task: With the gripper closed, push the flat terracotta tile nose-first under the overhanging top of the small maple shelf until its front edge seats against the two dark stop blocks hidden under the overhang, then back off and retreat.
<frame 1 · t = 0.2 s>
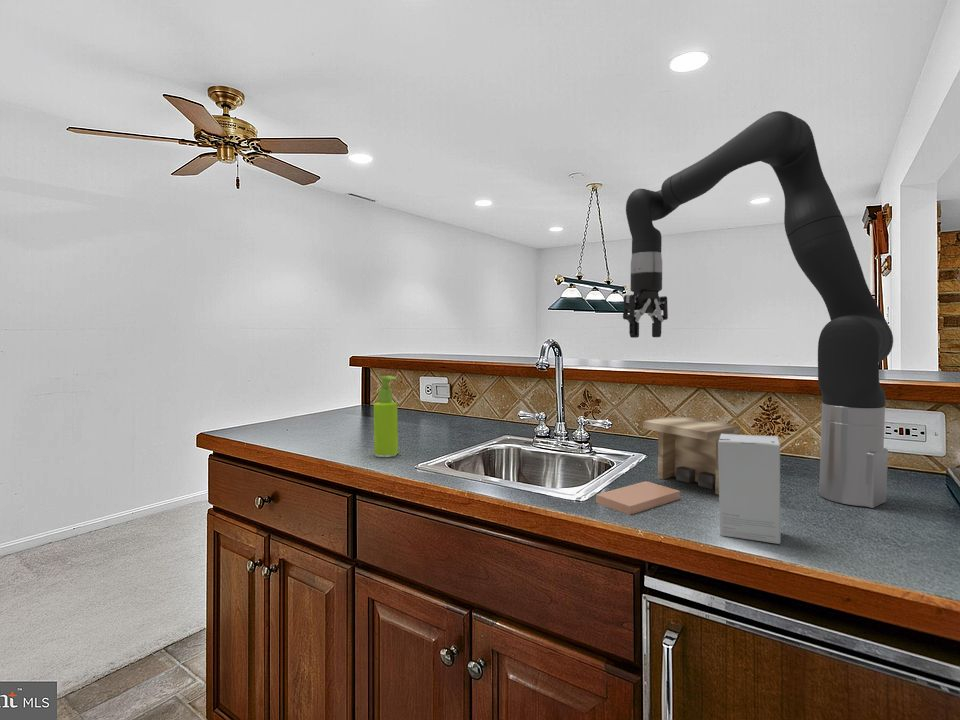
hand: (645, 337, 128), 29 cm above the worktop, tool pointing down, fingers open, 8 cm apart
shelf: (687, 486, 102), on the worktop
soap dispenser: (387, 456, 128), on the worktop
tile: (638, 503, 93), on the worktop
skincare box: (747, 535, 78), on the worktop
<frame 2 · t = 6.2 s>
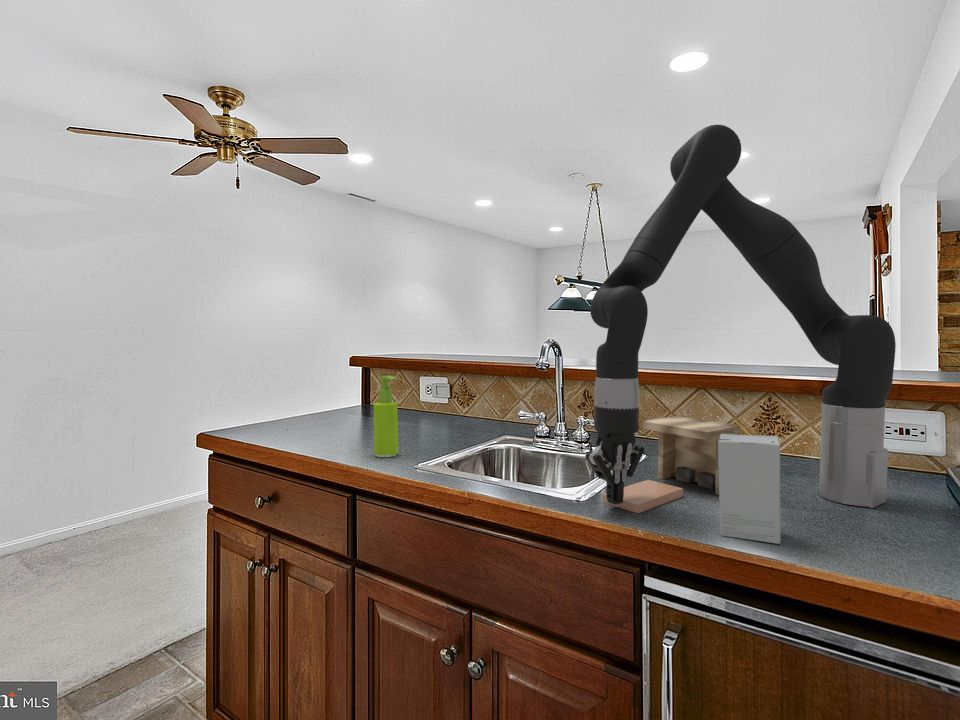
hand: (615, 502, 89), 1 cm above the worktop, tool pointing down, fingers closed
tile: (643, 501, 94), on the worktop, touching gripper
everything else where it was.
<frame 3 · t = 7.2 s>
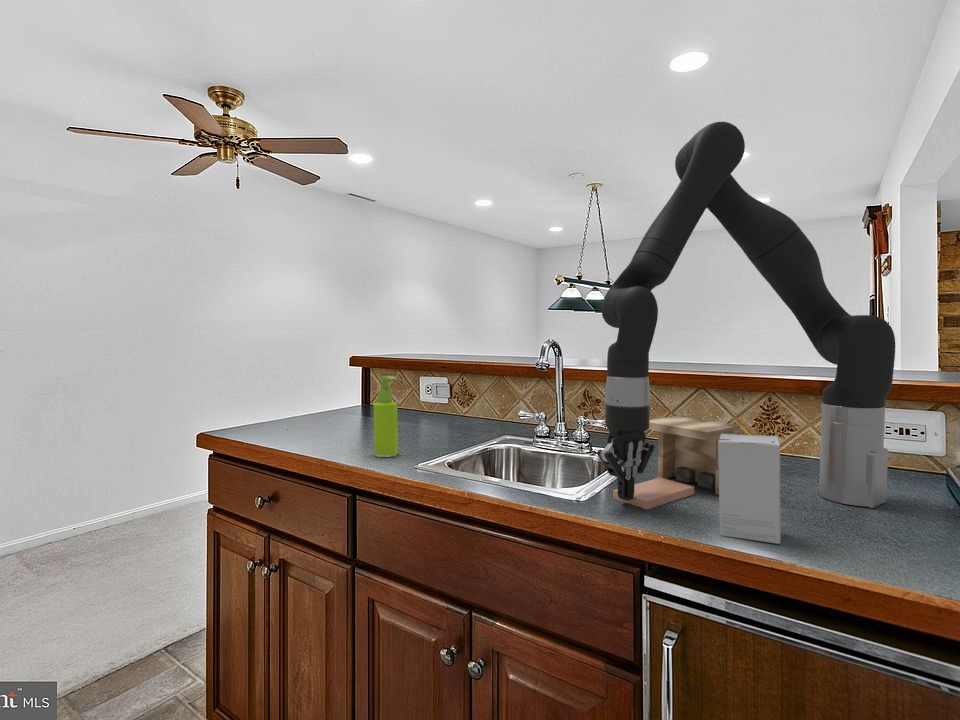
hand: (625, 498, 91), 1 cm above the worktop, tool pointing down, fingers closed
tile: (653, 499, 96), on the worktop
everything else where it was.
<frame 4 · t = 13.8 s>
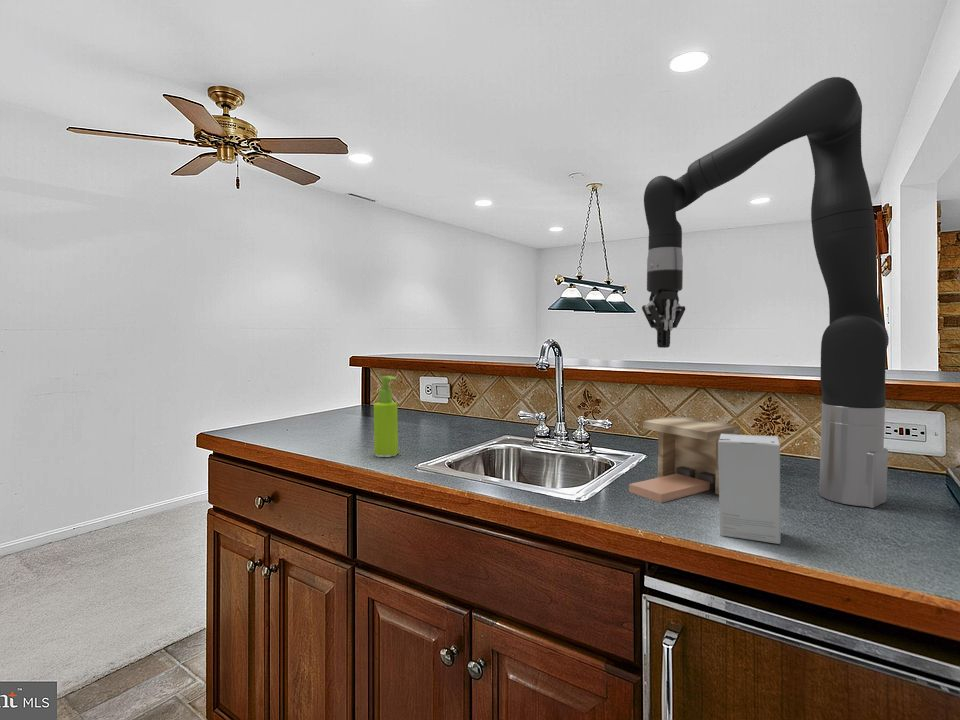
hand: (663, 347, 115), 27 cm above the worktop, tool pointing down, fingers closed
tile: (669, 493, 99), on the worktop
everything else where it was.
at the end: tile 0.4 cm from the target spot, on the worktop; tile tilted 0° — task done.
